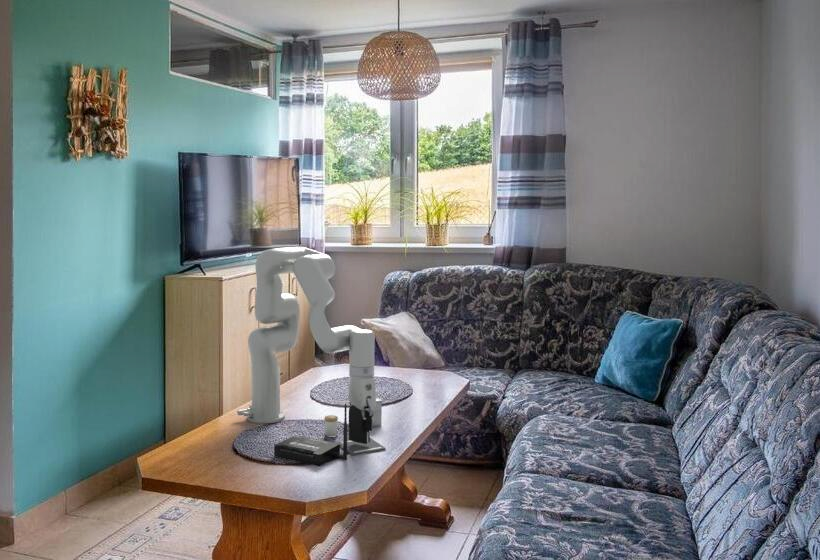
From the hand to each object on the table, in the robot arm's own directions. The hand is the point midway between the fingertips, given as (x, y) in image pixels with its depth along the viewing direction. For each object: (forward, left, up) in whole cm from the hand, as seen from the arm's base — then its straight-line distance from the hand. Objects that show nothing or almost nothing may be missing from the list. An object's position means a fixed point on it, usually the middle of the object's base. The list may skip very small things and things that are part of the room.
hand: (360, 427), depth 217 cm
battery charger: (0, 0, -5) cm, 5 cm away
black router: (-16, -1, -7) cm, 18 cm away
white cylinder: (-4, +14, -6) cm, 16 cm away
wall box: (+11, +20, -6) cm, 24 cm away
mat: (0, 0, -6) cm, 6 cm away
